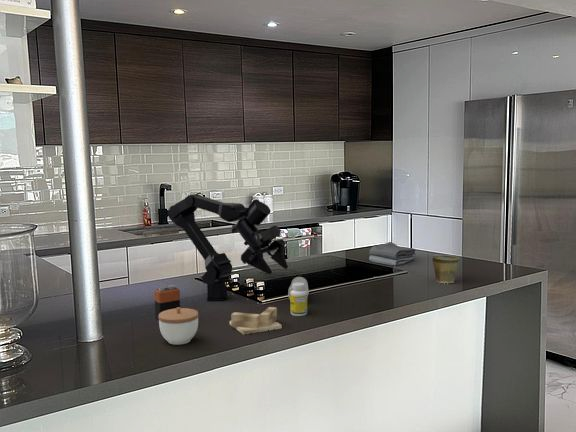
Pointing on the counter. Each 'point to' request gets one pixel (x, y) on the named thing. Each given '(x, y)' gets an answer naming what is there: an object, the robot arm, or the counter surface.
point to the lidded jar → (178, 325)
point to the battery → (166, 299)
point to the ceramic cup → (445, 268)
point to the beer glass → (302, 280)
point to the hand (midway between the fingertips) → (279, 270)
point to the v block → (255, 321)
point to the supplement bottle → (298, 299)
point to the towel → (391, 254)
